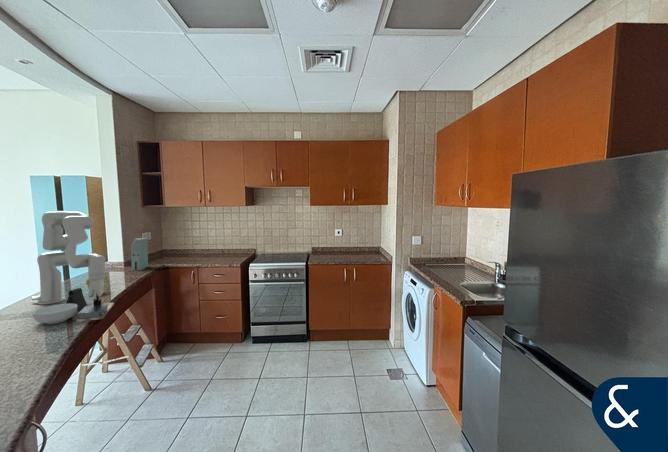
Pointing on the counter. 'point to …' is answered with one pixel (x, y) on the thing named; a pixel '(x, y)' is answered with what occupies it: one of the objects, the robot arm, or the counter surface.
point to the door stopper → (76, 298)
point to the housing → (92, 311)
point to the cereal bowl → (55, 313)
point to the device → (139, 253)
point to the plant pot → (89, 282)
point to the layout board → (109, 306)
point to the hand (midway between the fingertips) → (97, 307)
